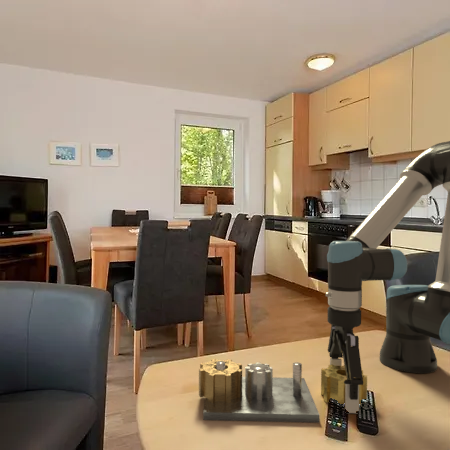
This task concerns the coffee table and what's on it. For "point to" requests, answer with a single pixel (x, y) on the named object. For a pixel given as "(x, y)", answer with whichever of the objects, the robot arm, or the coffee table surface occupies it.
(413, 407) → the coffee table surface
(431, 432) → the coffee table surface
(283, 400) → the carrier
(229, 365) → the seated gear
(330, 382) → the gear
